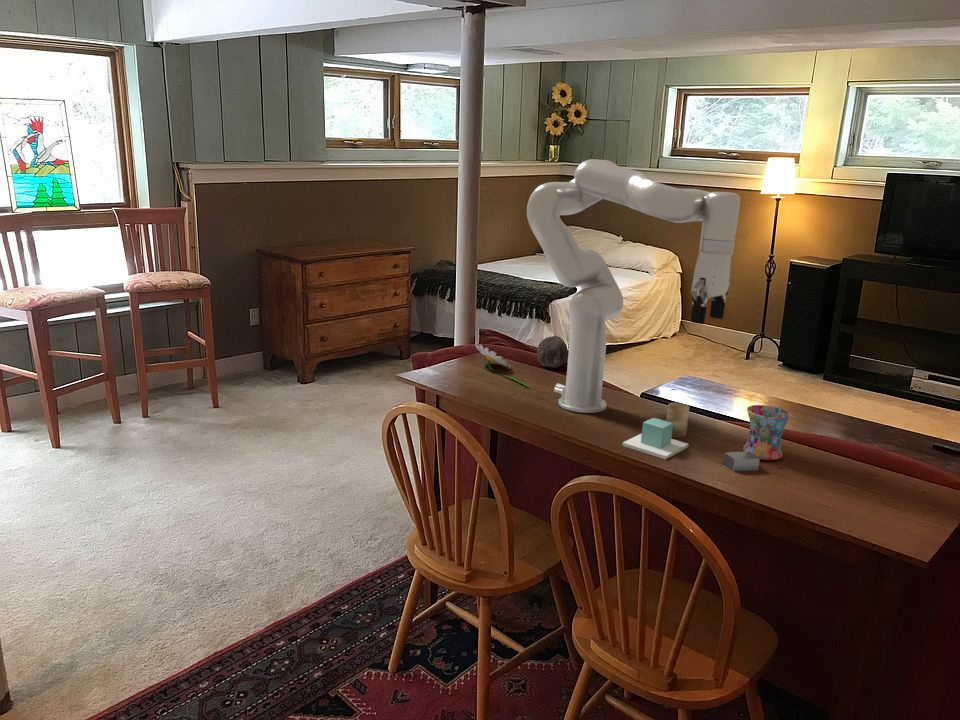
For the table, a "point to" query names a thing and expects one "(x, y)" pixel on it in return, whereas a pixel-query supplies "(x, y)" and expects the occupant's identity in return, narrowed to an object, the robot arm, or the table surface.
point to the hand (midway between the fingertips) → (707, 320)
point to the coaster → (661, 453)
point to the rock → (552, 352)
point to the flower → (494, 358)
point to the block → (656, 433)
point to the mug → (766, 431)
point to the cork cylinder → (678, 418)
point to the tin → (741, 461)
